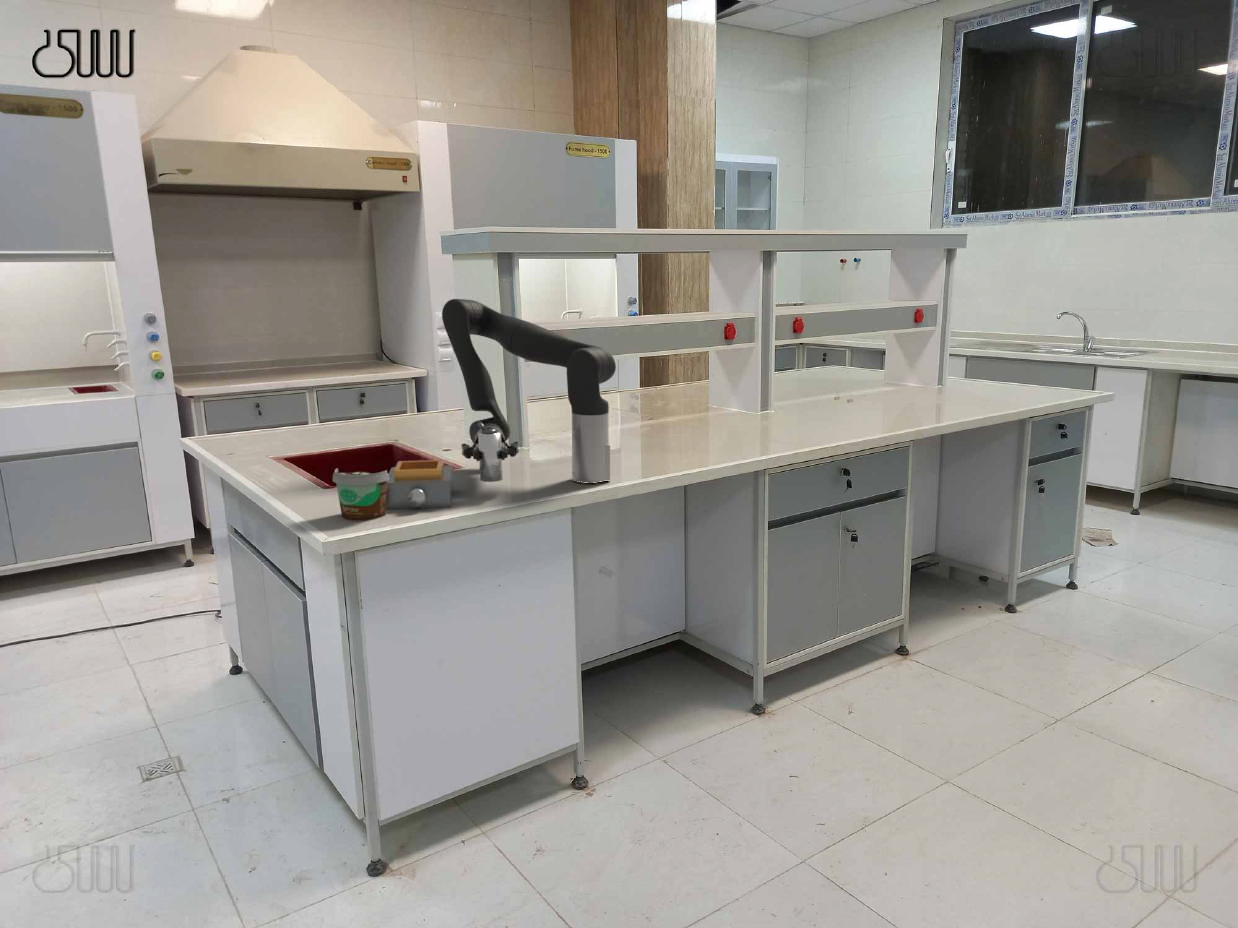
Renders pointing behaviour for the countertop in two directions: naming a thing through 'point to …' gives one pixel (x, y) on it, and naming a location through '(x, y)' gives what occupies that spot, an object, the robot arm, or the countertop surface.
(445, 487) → the box
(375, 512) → the food container
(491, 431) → the spout can
